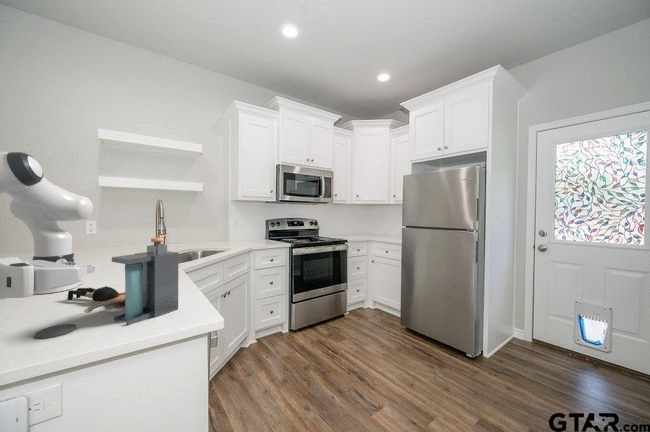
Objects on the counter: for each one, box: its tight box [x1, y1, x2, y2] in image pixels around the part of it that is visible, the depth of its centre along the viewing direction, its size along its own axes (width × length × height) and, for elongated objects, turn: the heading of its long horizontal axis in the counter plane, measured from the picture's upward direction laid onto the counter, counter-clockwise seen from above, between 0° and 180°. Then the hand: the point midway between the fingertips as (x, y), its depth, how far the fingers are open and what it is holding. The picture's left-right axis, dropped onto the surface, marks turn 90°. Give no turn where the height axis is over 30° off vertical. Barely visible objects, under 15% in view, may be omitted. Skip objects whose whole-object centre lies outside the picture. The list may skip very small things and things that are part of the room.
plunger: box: [150, 237, 164, 246], centre depth 89 cm, size 3×3×4 cm
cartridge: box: [124, 262, 143, 321], centre depth 83 cm, size 5×5×17 cm
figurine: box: [67, 286, 125, 314], centre depth 97 cm, size 29×6×30 cm
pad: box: [34, 322, 77, 340], centre depth 74 cm, size 8×8×1 cm
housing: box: [111, 243, 179, 326], centre depth 86 cm, size 10×15×22 cm, turn 155°
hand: (83, 266), depth 71 cm, fingers open, 8 cm apart
